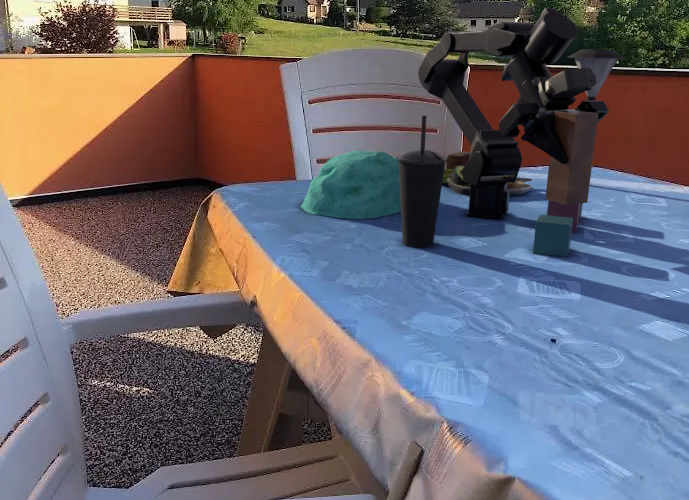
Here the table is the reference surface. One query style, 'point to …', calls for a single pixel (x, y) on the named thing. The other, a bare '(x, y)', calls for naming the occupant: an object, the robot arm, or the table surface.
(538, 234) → the cube near
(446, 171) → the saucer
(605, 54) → the solar garden light
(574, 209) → the cube mid
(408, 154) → the drinking cup
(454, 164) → the brick
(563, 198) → the walnut block
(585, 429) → the table surface
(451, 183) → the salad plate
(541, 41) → the robot arm
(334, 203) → the decorative stone
